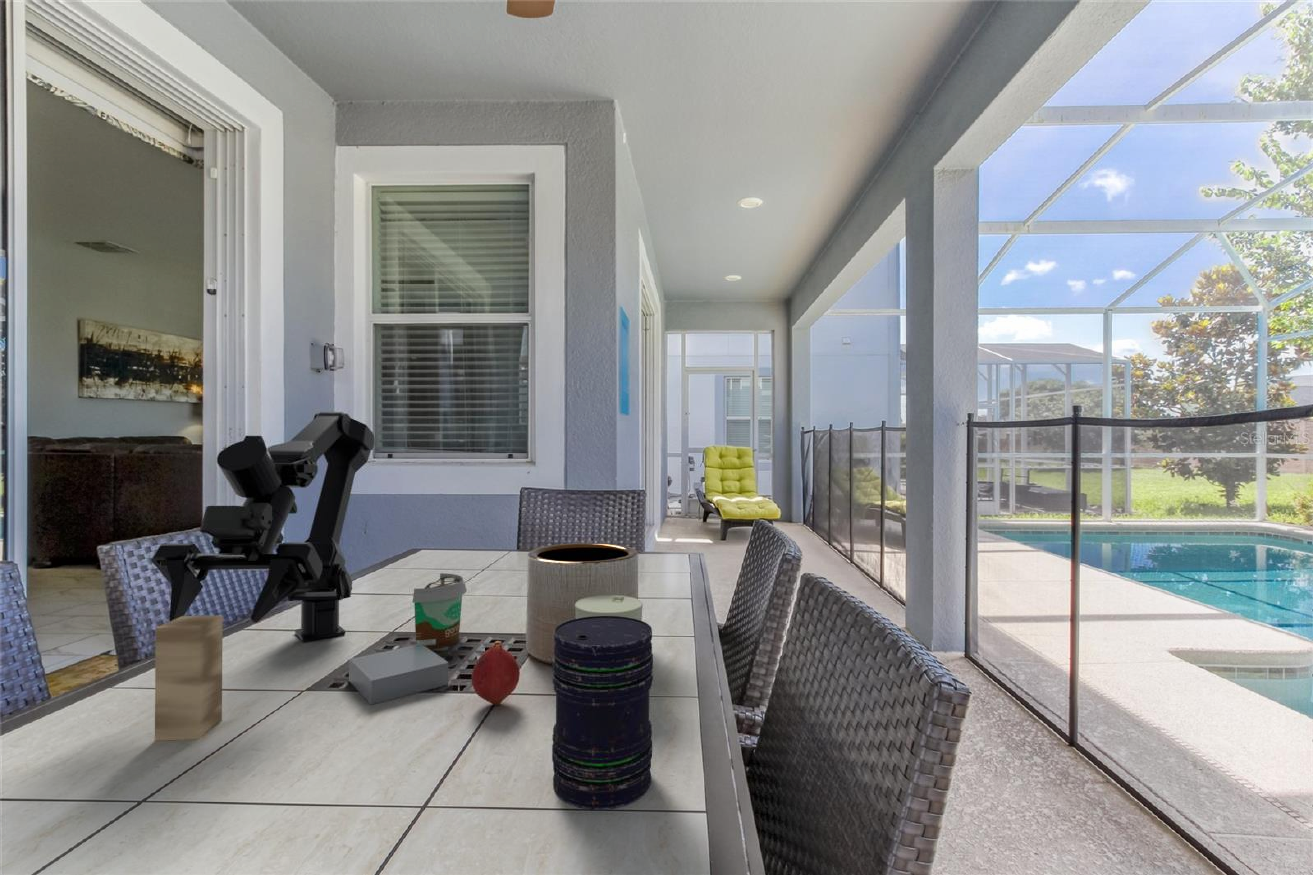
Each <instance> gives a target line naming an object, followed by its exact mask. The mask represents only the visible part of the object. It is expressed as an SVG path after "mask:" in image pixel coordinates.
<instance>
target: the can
mask: <svg viewBox="0 0 1313 875" xmlns="http://www.w3.org/2000/svg"><path fill="white" fill-rule="evenodd" d="M643 605H644V604H643V601H641V600H640V599H639V598H638V599H636V598H633V597H628V596H620V595H600V596H592V597H587V598H584V599H581V600H579V601H577V602H576V604H575V608H576V619H578V618H583V617H592V616H620V617H628V618H633V619H637V620H641V621H643Z"/></svg>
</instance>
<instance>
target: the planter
mask: <svg viewBox="0 0 1313 875" xmlns="http://www.w3.org/2000/svg"><path fill="white" fill-rule="evenodd" d="M526 572H527V574H526V576H527V582H526V585H527V586H526V587H527V588H526V589H527V590H526V624H525V625H526V626H525V630H526V632H525V643H526V650H527V652H528V654H529V655H531V656H532V657H533V658H534V659H536V660H538V661H540V662H542V663H545V664H549V665H552V666H553V656H554V645H555V641H554V630H555V628H556V627H557V626H559V625H560V624H562V623H564V622H567V621H570V620H573V619H576V608H575V604H576V602H577V601H579V600H581V599H584V598H587V597H592V596H600V595H620V596H628V597H633V598H636V599H638V600H639V553H638V550H637V549H634V548H632V547H630V546H625V545H619V544H613V543H602V542H601V543H600V542H589V543H588V542H580V543H579V542H578V543H576V542H574V543H562V544H554V545H546V546H541V547H538V548H534V549H533V550H531V551H529V552H528V553H527V571H526Z"/></svg>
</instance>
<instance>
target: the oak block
mask: <svg viewBox="0 0 1313 875" xmlns="http://www.w3.org/2000/svg"><path fill="white" fill-rule="evenodd" d="M223 617H224V616H223V615H221V614H219V615H217V614H216V615H184V616H181V617H179V618H177V619H174V620H172V621H170V620H169V621H168V622H165V623H163V624H161V625H158V626H157V627H155V640H154V641H155V644H154V645H155V646H154V648H155V649H154V650H155V653H154V654H155V655H154V657H155V658H154V659H155V660H154V662H155V663H154V665H155V666H154V667H155V668H154V670H155V672H154V673H155V674H154V678H155V679H154V741H155V742H157V741H159V742H160V741H180V740H183V741H185V740H199V739H200V738H202V737H203V736H205V734H207V733H208V732H210V731H211V730H212V729H213V728H215V727H216V726H217V725H219V724H220V723H221V722H222V721H223V622H224V620H223V619H224V618H223Z"/></svg>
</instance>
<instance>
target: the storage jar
mask: <svg viewBox="0 0 1313 875" xmlns="http://www.w3.org/2000/svg"><path fill="white" fill-rule="evenodd" d="M652 640H653V628H652V626H651V625H650V624H649V623H647V622H645V621H643V620H642V621H641V620H637V619H633V618H628V617H620V616H592V617H583V618H578V619H573V620H570V621H567V622H564V623H562V624H560V625H559V626H557V627H556V628H555V630H554V641H555V645H554V656H553V665H552V671H553V678H552V684H553V690H554V693H555V697H556V698H555V724H554V725H553V728H552V746H551V758H552V759H551V760H552V763H553V764H552V768H553V769H552V770H553V778H552V787H553V791H554V793H555V794H556V796H557V797H558V798H559V799H560V800H561V801H563V802H564V803H566V804H568V805H570V806H572V807H576V808H580V809H585V810H594V811H603V810H613V809H619V808H621V807H625V806H628V805H631V804H633V803H635V802H637V801H638V800H640V799H641V798H643V797H644V796H645V795H646V793H647V792H648V791H649V790H650V788H651V785H652V772H651V767H652V758H653V740H652V736H653V731H652V730H653V729H652V722H651V720H650V691H651V689H652V685H653V680H654V675H653V667H654V666H653V665H654V664H653V663H654V655H653V643H652Z"/></svg>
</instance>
